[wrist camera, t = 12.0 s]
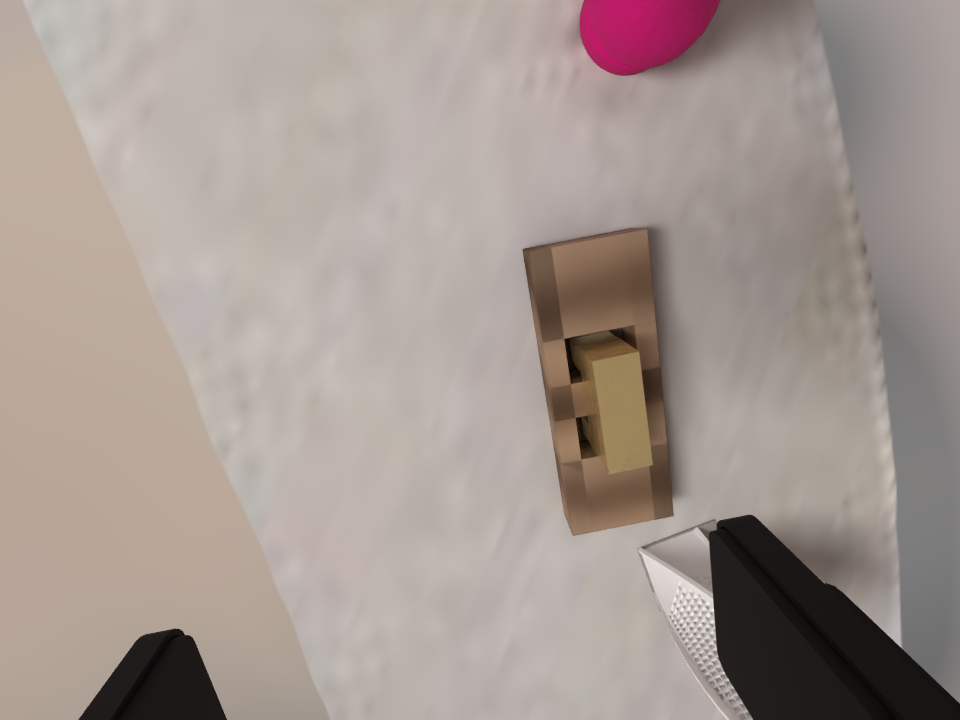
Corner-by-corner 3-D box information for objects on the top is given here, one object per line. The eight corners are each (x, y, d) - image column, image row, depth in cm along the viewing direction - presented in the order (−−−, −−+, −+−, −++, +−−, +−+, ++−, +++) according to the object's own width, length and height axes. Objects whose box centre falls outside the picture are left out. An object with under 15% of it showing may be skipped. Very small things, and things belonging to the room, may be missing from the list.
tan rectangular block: (568, 337, 39) (592, 361, 33) (607, 329, 39) (639, 351, 33) (583, 434, 41) (608, 474, 35) (620, 426, 41) (652, 465, 35)
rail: (522, 249, 37) (528, 251, 35) (631, 228, 38) (647, 229, 35) (564, 514, 43) (572, 536, 41) (658, 496, 43) (673, 516, 41)
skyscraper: (643, 614, 47) (908, 1148, 20) (616, 542, 45) (872, 1033, 18) (732, 580, 47) (1123, 1079, 20) (709, 506, 44) (1113, 953, 17)
